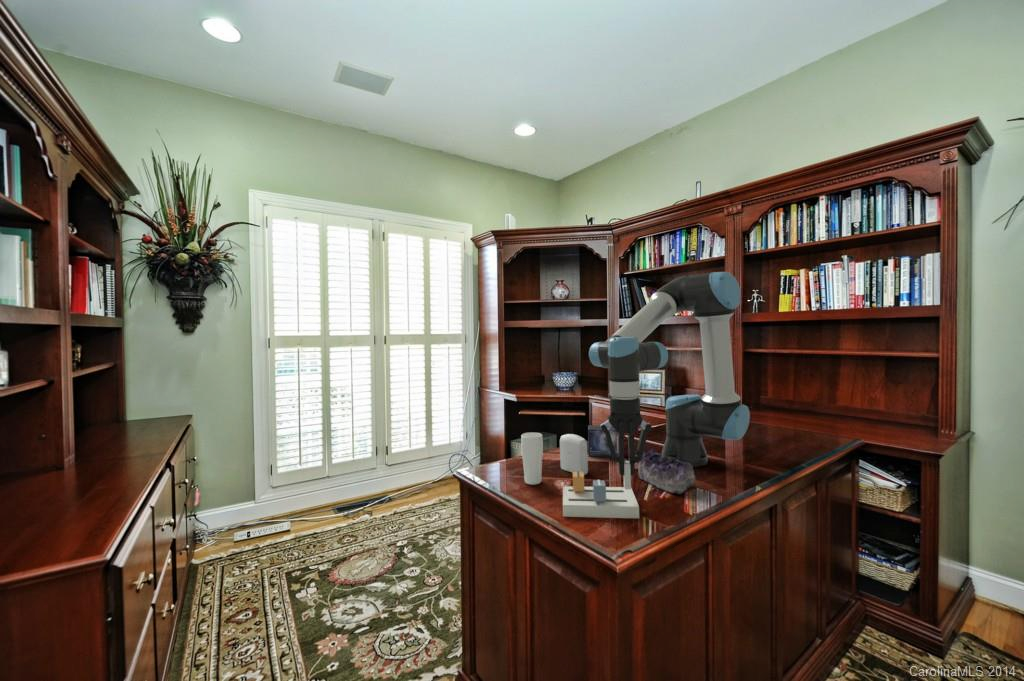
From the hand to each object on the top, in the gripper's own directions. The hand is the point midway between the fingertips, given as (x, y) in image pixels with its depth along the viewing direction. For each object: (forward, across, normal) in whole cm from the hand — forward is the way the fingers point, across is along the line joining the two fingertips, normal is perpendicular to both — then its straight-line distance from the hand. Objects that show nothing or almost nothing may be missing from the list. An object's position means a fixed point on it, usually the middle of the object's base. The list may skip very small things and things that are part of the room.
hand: (627, 487), depth 111 cm
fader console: (+7, +7, -3) cm, 10 cm away
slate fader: (+3, +7, 0) cm, 8 cm away
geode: (+7, -13, -22) cm, 26 cm away
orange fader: (+3, +12, -6) cm, 14 cm away
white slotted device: (+7, +13, -31) cm, 35 cm away
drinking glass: (+7, +26, -20) cm, 34 cm away
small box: (+7, +2, -50) cm, 51 cm away
